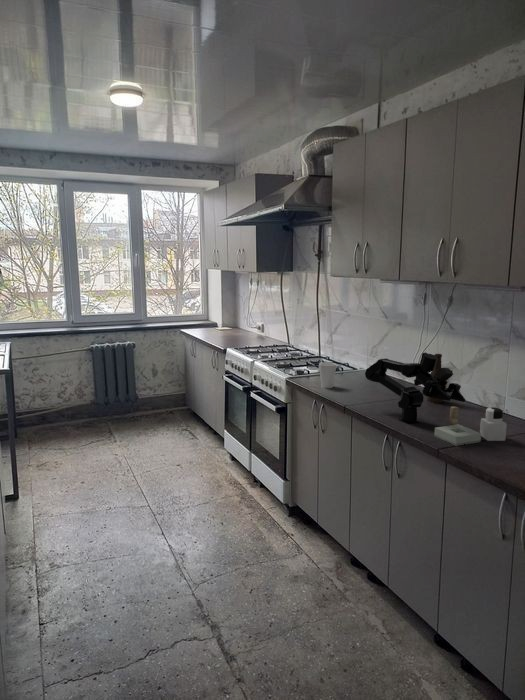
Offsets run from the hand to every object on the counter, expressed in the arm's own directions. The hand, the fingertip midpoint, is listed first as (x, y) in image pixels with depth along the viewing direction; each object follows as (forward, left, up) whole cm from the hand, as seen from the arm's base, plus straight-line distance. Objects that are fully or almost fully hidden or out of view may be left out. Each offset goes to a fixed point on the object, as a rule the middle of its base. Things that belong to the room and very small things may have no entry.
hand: (457, 400), depth 199 cm
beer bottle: (-47, +30, -16) cm, 58 cm away
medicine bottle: (+5, +14, -16) cm, 22 cm away
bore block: (+1, 0, -15) cm, 16 cm away
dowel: (-10, +8, -15) cm, 20 cm away
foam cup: (-93, -6, -16) cm, 94 cm away
